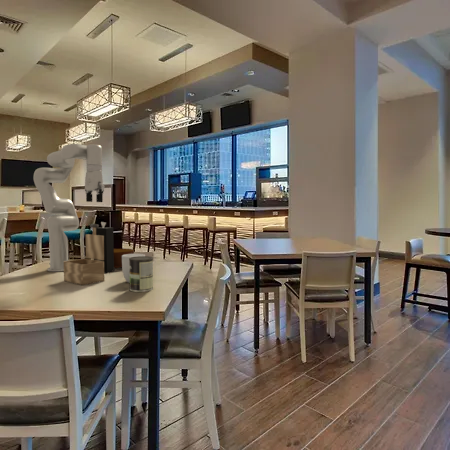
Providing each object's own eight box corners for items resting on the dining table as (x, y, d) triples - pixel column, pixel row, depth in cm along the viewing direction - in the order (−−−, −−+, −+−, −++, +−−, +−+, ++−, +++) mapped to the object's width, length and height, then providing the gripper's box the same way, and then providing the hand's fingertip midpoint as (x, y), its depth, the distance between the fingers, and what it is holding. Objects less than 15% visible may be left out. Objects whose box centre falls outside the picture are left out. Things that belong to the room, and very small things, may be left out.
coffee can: (127, 292, 153) (127, 259, 152) (131, 286, 163) (131, 256, 163) (151, 291, 154) (151, 259, 153) (154, 286, 164) (154, 256, 163)
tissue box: (107, 273, 195) (106, 222, 193) (93, 272, 196) (92, 222, 195) (114, 270, 203) (113, 221, 201) (101, 270, 204) (100, 221, 203)
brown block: (140, 266, 218) (140, 249, 218) (117, 270, 204) (117, 253, 203) (120, 263, 228) (120, 247, 227) (97, 267, 213) (97, 251, 212)
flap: (84, 223, 183) (87, 223, 184) (84, 257, 184) (88, 257, 185) (101, 224, 174) (104, 224, 175) (101, 260, 175) (105, 260, 176)
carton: (64, 280, 176) (63, 261, 175) (86, 277, 185) (85, 258, 185) (81, 285, 166) (81, 264, 166) (104, 281, 176) (104, 261, 175)
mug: (150, 277, 184) (149, 252, 183) (155, 282, 174) (155, 255, 173) (120, 280, 177) (119, 254, 176) (124, 285, 167) (124, 257, 166)
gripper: (78, 168, 188) (79, 201, 189) (96, 167, 177) (96, 202, 178) (91, 170, 194) (92, 201, 195) (110, 168, 183) (110, 202, 184)
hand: (94, 201), depth 187 cm, fingers open, 9 cm apart
